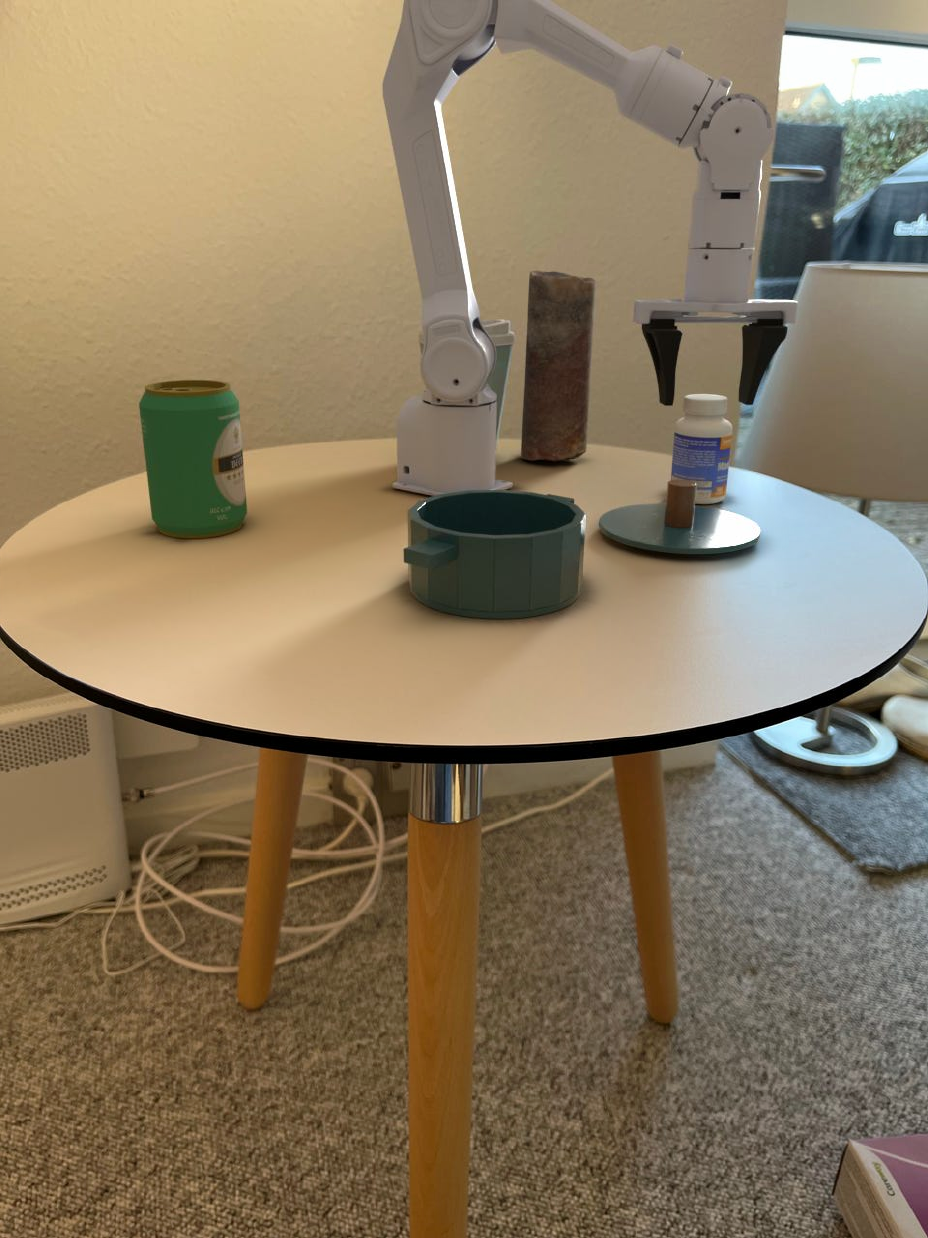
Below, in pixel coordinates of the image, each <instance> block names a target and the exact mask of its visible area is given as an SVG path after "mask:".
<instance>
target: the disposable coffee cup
mask: <svg viewBox="0 0 928 1238" xmlns="http://www.w3.org/2000/svg"><path fill="white" fill-rule="evenodd" d="M481 322H482V324H483V327H484V328H485V330H486V331H487V333H488V334H489V335H490V337H491V338H492V340H493V342H494V344H495V347H496V353H497V359H496V364H495V367H494V370H493V372H492V374H491V375H490V376H489V378H488V379H487V380H486V382H487V383H488V384H489V387H490V388H491V390H492V391H493V392H494V393H496V394H497V399H496V401H497V412H496V450H497V448H498V442H499V436H500V429H501V425H502V424H501V422H502V417H503V412H504V411H503V410H504V405H505V404H504V403H505V398H506V392H507V385H508V379H509V375H510V368H511V367H510V366H511V361H512V354H513V349H514V345H515V344H516V334H515V332H514V331H511V327H512V326H511V325H512V324H511V320H508V319H501V318H500V319H485V320H484V319H482V320H481ZM418 343H419V348H420V355H421V356H422V352H423V349H424V334H423V330H422V331H419V333H418V341H417V344H418ZM425 388H426V389H428V388H427V387H426V386H425ZM426 389H425V390H426Z"/></svg>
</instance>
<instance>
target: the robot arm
mask: <svg viewBox="0 0 928 1238" xmlns="http://www.w3.org/2000/svg"><path fill="white" fill-rule="evenodd" d="M402 3H403V4H402V11H401V19H400V24H399V26H398V30H397V34H396V37H395V39H394V44H393V47H392V50H391V52H390V53H391V54H390V56H389V60H388V63H387V66H386V70H385V72H384V76H383V80H382V83H381V87H382V90H381V91H382V99H383V105H384V109H385V114H386V120H387V124H388V130H389V134H390V140H391V145H392V151H393V156H394V161H395V166H396V172H397V177H398V181H399V186H400V192H401V197H402V203H403V207H404V212H405V213H404V214H405V217H406V222H407V223H406V224H407V226H408V227H407V228H408V232H409V238H410V243H411V247H412V254H413V260H414V264H415V269H416V275H417V279H418V280H417V281H418V285H419V290H420V295H421V303H422V305H421V329H422V331H423V334H424V349H423V352H422V355H421V356H420V360H419V372H420V377H421V379H422V382H423V384H424V385H425V388H426V387H427V388H428V389H424V390H423V391H422V392H421V394H418V395H413V396H411V397H410V398H408V399H407V400H406V401H405V402H404V403H403V405H402V406H401V408H400V410H399V413H398V417H397V420H396V468H397V469H396V470H397V472H396V473H397V481H394V482H392V486H391V487H392V488H393V489H397V490H401V491H407V492H412V493H416V494H421V495H426V496H430V497H433V496H436V495H440V494H446V493H453V492H460V491H469V490H509V489H512V488H513V485H514V484H513V482H512V481H506V480H502V479H496V460H497V459H496V455H497V449H496V412H497V401H496V399H497V394H496V393H494V392H493V391H492V390H491V388H490V387H489V384H488V383H487V382H486V380H487V379H488V378H489V376H490V375H491V374H492V372H493V370H494V367H495V364H496V359H497V353H496V347H495V344H494V342H493V340H492V338H491V337H490V335H489V334H488V333H487V331H486V330H485V328H484V327H483V324H482V322H481V321H482V318H481V312H480V308H479V305H478V302H477V298H476V295H475V293H474V290H473V283H472V279H471V278H472V277H471V272H470V268H469V261H468V255H467V250H466V244H465V239H464V238H465V237H464V232H463V228H462V221H461V215H460V210H459V205H458V199H457V194H456V186H455V181H454V176H453V171H452V164H451V159H450V154H449V148H448V142H447V136H446V130H445V125H444V119H443V112H442V105H443V103H444V101H445V100H446V98H447V97H448V96H449V94H450V92H451V91H452V90H453V88H454V87H455V85H456V83H457V82H458V81H459V79H460V78H461V76H462V75H463V74H465V72H467V71H469V70H470V69H471V68H472V67H474V66H475V65H476V64H478V63H479V62H480V61H482V60H483V59H484V58H485V57H486V56H487V55H489V54H490V52H491V51H492V50H493V48H494V47H495V45H496V46H497V48H498V50H499V52H500V54H501V55H505V54H512V53H516V52H522V51H527V50H533V51H535V52H538V54H539V53H540V54H541V55H544V56H545V57H547V58H549V59H551V60H553V61H555V62H557V63H559V64H561V65H563V66H564V67H567V68H569V69H571V70H573V72H577V73H578V74H579V75H582V76H584V77H585V78H588V79H590V80H592V81H593V82H596V83H598V84H600V85H602V86H603V87H606V88H607V89H609V90H611V91H612V92H613V93H614V98H615V102H616V107H617V110H618V113H619V114H620V116H622V117H624V118H625V119H628V120H629V121H631V122H633V123H634V124H637V125H638V126H640V127H641V128H644V129H645V130H647V131H649V132H651V133H652V134H655V135H656V136H658V137H659V138H661V139H663V140H664V141H667V142H669V143H670V144H672V145H674V146H675V147H677V148H679V149H680V150H685V149H687V148H692V149H693V153H694V156H695V158H696V160H697V162H698V163H697V170H696V173H697V174H696V183H695V184H696V185H695V190H694V191H693V193H692V202H691V211H690V212H691V213H690V223H689V224H690V225H689V235H688V248H687V258H686V270H685V281H684V293H683V298H675V299H674V298H667V299H666V298H665V299H634V303H633V304H634V305H633V306H634V307H633V318H632V319H633V321H632V322H633V323H635V324H638V325H641V332H642V335H643V337H644V340H645V341H646V345H647V348H648V351H649V353H650V356H651V359H652V363H653V366H654V370H655V375H656V381H657V387H658V397H659V398H658V399H659V401H658V402H659V404H661V405H663V406H665V407H672V406H674V401H675V394H676V393H675V391H676V369H677V363H678V357H679V351H680V347H681V346H680V345H681V343H682V336H683V332H682V331H681V330H679V329H678V325H675V324H701V323H702V324H743V323H744V324H743V326H742V327H741V335H742V337H741V338H742V355H741V357H742V360H741V371H740V377H739V385H738V402H739V403H741V404H742V405H745V406H753V405H754V403H755V399H756V396H757V393H758V390H759V387H760V386H761V385H760V384H761V382H762V380H763V377H764V375H765V373H766V371H767V369H768V367H769V364H770V363H771V361H772V359H774V356H775V354H776V353H777V351H778V349H779V348H780V346H781V345H782V344H783V342H784V341H785V340H786V338H787V335H788V328H789V327H788V326H786V325H787V324H788V325H789V324H796V319H797V313H798V312H797V311H798V303H799V301H797V300H791V299H753V298H751V299H750V295H751V284H752V276H753V265H754V257H755V248H756V238H757V229H758V223H759V222H758V221H759V211H760V204H761V203H760V202H761V194H762V193H761V190H760V184H761V180H762V177H763V176H762V175H763V171H762V166H763V160H762V159H763V158H764V156H765V155H766V154H767V153H768V151H769V149H770V147H771V145H772V143H773V141H774V137H775V129H773V128H772V127H773V124H772V119H771V114H770V112H768V109H767V106H766V105H765V104H764V102H763V101H762V100H761V99H760V98H758V97H756V96H755V95H752V94H750V93H745V92H740V93H732V94H728V93H729V91H730V89H731V87H732V85H733V81H732V80H731V79H729V78H728V77H725V76H721V77H720V79H719V80H717V79H716V78H714V77H712V76H710V75H709V74H707V73H705V72H703V70H700V69H698V68H696V67H694V66H693V65H691V64H690V63H688V62H686V61H684V60H682V59H681V57H682V55H683V53H684V51H683V50H682V49H681V48H679V47H677V46H676V45H674V44H671V43H670V44H669V45H668V46H667V49H666V50H665V49H663V48H662V47H660V46H658V45H657V44H652V45H649V46H647V47H644V48H642V49H639V50H636V51H632V50H629V49H628V48H626V47H625V46H623V45H621V44H619V43H618V42H617V41H615V40H613V39H612V38H610V37H609V36H607V35H605V34H604V33H602V32H601V31H599V30H598V29H596V28H594V27H592V26H591V25H590V24H588V23H586V22H584V21H583V20H581V19H580V18H578V17H576V16H575V15H574V14H572V13H570V12H569V11H567V10H565V9H564V8H562V7H560V6H559V5H557V4H556V3H555V2H553V1H551V0H403V2H402ZM699 313H713V314H714V313H717V314H719V313H720V314H726V313H727V314H732V315H737V316H698V315H699ZM784 324H786V325H784Z"/></svg>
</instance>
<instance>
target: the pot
mask: <svg viewBox="0 0 928 1238" xmlns="http://www.w3.org/2000/svg"><path fill="white" fill-rule="evenodd" d="M586 520H587V514H586V512H585V511H584V510H583V509H582V508H581V507H580V506H579V505H578V504H576V503H575V498H573V497H567V496H561V495H556V494H551V493H547V494H543V493H537V492H532V491H523V490H509V489H505V490H469V491H460V492H453V493H446V494H440V495H436V496H430V497H426V498H423V499H421V500H417V501H416V502H415V503H413V505H412V506H411V507H409V508H408V509H407V546H406V547H404V548H403V563H405V564H407V569H408V571H407V573H408V574H407V575H408V576H407V577H408V582H409V591H410V594H411V596H413V598H414V599H416V600H417V602H419V603H420V604H422V605H424V606H426V607H428V608H431V609H433V610H436V611H440V612H443V613H447V614H451V615H454V616H461V617H465V618H466V617H467V618H476V619H486V620H487V619H489V620H490V619H491V620H507V619H512V620H513V619H524V618H530V617H532V618H533V617H537V616H543V615H547V614H550V613H555V612H557V611H560V610H563V609H564V608H566V607H569V606H570V605H572V604H573V603H574V602H575V601H576V600H577V599H578V598H579V596H580V594H581V586H582V585H583V577H584V574H583V572H584V556H585V541H586V540H585V539H586V524H587V523H586Z"/></svg>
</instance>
